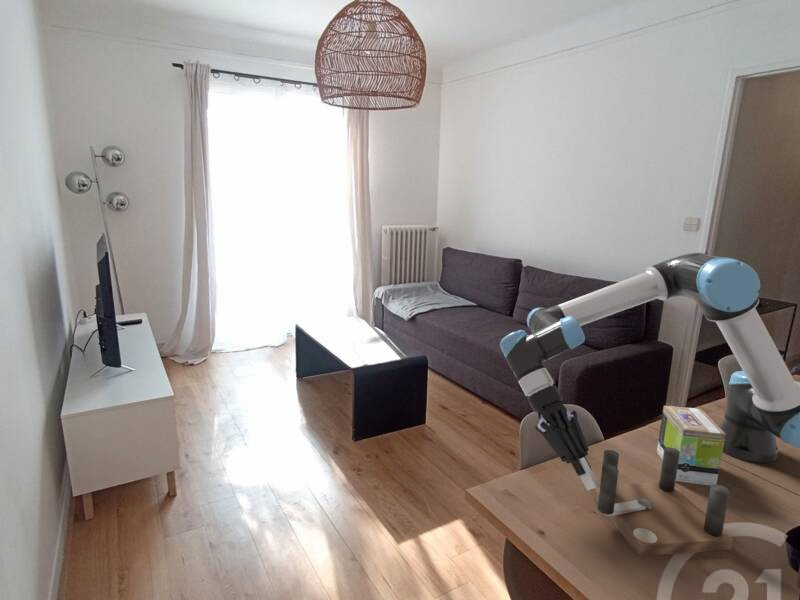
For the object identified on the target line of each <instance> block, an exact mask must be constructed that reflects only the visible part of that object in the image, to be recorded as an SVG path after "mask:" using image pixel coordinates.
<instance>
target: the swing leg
mask: <svg viewBox="0 0 800 600" xmlns="http://www.w3.org/2000/svg"><path fill="white" fill-rule="evenodd" d="M619 471H620V470H619V468H616V467H615V466H612V465H603V464H602V468H601V476H600V483H599V485H600V493H599V502H598V503H597V510H598V511H599V512H600V513H602V514H604V516H605V517H607V518H609V516H614V515H619V514H624V513H629V512H634V511H639V510H649V509H650V508H651V504H650V502H649V501H648V500H646V499H644V498H639V499H637V500H633V501H628V502H622V503H617V504H615V496H616V488H617V485H618V479H619Z"/></svg>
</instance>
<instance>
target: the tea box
mask: <svg viewBox="0 0 800 600" xmlns="http://www.w3.org/2000/svg"><path fill="white" fill-rule="evenodd" d="M661 414H662V415H661V422H660V429H659V435H658V442H657V449H656V453H657V454H658V456H659V457H660V458H661V460H662V461H663V454H664V448H666V447H671V448H675V449H677V450H678V451H679V452H680V454H679V461H678V468H677V474H676V481H675V482H680V483H685V484H687V483H688V484H693V485H703V486H710V487H711V485H713V484H717V483H718V478H719V473H720V467H721V461H722V457H723V453H724V452H723V446H724V441H725V433H724V432H723V431H722V430H721V429H720V427H719V425H718V424H717V423H715V422H714V421H713V419H712V418H711V417H710V416H708V414H707V413H706V412H705V411H704V410H703V409H702V408H694V407H684V406H683V407H682V406H674V405H673V406H672V405H663V409H662V413H661ZM717 485H718V484H717Z"/></svg>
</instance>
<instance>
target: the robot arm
mask: <svg viewBox="0 0 800 600" xmlns="http://www.w3.org/2000/svg"><path fill="white" fill-rule="evenodd" d="M759 290H761V280H760V278H759V276H758V273H757V271H755V269H754V268H752V266H750V265H749V264H747V263H746V262H743V261H740V260H739V259H735V258H732V257H723V256H718V255H712V254H706V253H701V252H695V253H694V252H693V253H685V254H681V255H679V256H675V257H672V258H669V259H666V260H664V261H662V262H659V263H657V264H654V265H651V266H648V267H647V268H646V269H645V272H642V273H640V274H638V275H635V276H632V277H630V278H627V279H626V278H625V279H624V280H621V281H618V282H616V283H613V284H610V285H607V286H605V287H603V288H600V289H597V290H594V291H592V292H589V293H587V294H584V295H581V296H578V297H575V298H574V299H571V300H568V301H565V302H563V303H560V304H557V305H554V306H551V307H548V308H545V307H536V308H533V309H532V310H531V311H530V312H529V313H528V314H527V317H526V324H527V327H528V328H529V331H530V332H531V333H530V334H528V333H527V332H526V330H523V329H519V330H516V331H513V332H510V333H508V334H507V335H505V336H504V337H503V338H502V339H501V340H500V341H499V342H500V343H499V347H500V349H501V351H502V354H503V356H504V358H505V360H506V362H507V363H508V365H509V367H510V369H511V371H512V373H513V374H514V377H515V378H516V380H517V382H518V384H519V385H520V388H521V389H522V392H523V393H524V396H526V397H528V398H527V401H528V403H529V405H530V407H531V409H532V411H533V412H534V413H537V416H538V419H539V422H538V424H536V425H535V429H536V431H537V432H539V433H540V434H541V435H542V436H543V437H544V439H545V440H546V441H547V443H548V444H549V445H550V447H551V449H553V450H554V452H555V453H556V455H557V457H559V459H560V460H561V461H562V462H564V463H566V464H571V465H572V467H573V469H574V471H575V473H576V475H577V476H578V477H580V480H581V481H582V483H583V485H584V487H585V488H586V491H590V490H592V489H594V488H596V487H598V486H600V483H599V481H598V480H597V479H598V478H596V476H595V474H594V472H593V469H592V467H591V465H590V462H589V461H588V460H587V458H586V456H588V455H589V446H588V444H587V441H586V439H585V436H584V434H583V431H582V429H581V426H580V423H579V421H578V413H577V411H576V410H572V411H570V410H567V407H566V406H565V405H564V404H563V402H562V400H563V396H562V394H561V393H560V390H559V389H558V387H557V386H556V385H554V379H553V378H552V376H551V375H550V373H549V371H548V370H547V367H546V366H545V364H544V362H547V361H550V360H551V359H553V358H555V357H557V356H560V355H562V354H565V353H566V352H568V351H571V350H573V349H575V348H576V347H578V346H580V345H581V344H584V342H585V340H586V337H585V333H584V330H583V329H582V326H584V325H587V324H589V323H593V322H596V321H598V320H601V319H604V318H606V317H609V316H612V315H614V314H617V313H620V312H622V311H625V310H629V309H632V308H634V307H637V306H640V305H642V304H645V303H648V302H651V301H653V300H654V301H655V300H656V299H658V300H661V301H665V300H668V299H671V298H675V297H686V298H688V299H691V300H693V301H695V302H696V303H697V306H698V308H699V309H700V310H701V312H702V314H703V316H704V318H705V319H706V320H707V321H710V322H714V323H716V325H717V326H718V328H719V330H720V331H721V334H722V336H723V337H724V339H725V342H727V345H728V347H730V348H729V349H730V350H731V352H732V354H733V355H734V357H735V359H736V360H737V363H738V364H739V365H740V368H741V370H738V371H734V372H733V373H731V376H730V379H729V382H728V389H727V390H728V391H727V396H726V403H725V409H724V414H723V415H724V416H723V418H722V421H721V422H720V424H719V425H718V426H719V427H720V429H721V430H722V431H723V432H724V433H725V441H724V446H723V452H722V453H725V454H727V455H729V456H731V457H734V458H737V459H740V460H744V461H747V462H752V463H753V462H754V463H773V462H774V461H776V460H777V457H778V454H779V448H778V446H777V439H776V437H777V438H778V439H781V441H782V442H784V443H785V444H788V445H790V446H792V447H794V448H796V449H800V382H799V381H796V380H795V379H794V377H793V376H792V374H791V372H790V369H789V368H788V366H787V364H786V362H785V360H784V358H783V357H782V355H781V353H780V351H779V349H778V348H777V346H776V344H775V342H774V340H773V338H772V337H771V335H770V333H769V330H767V327H766V325H765V323H764V321H763V320H762V318H761V317H760V315H759V313H758V311H757V309H756V307H758V305H759V303H760V298H759V295H760V293H759Z"/></svg>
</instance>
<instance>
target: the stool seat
mask: <svg viewBox="0 0 800 600" xmlns="http://www.w3.org/2000/svg"><path fill="white" fill-rule="evenodd" d="M679 454H680V452H679V451H678V450H677V449H675V448H671V447H666V448H664V454H663V460H662V461H661V462H662V463H661V467H660V468H661V470H660V476H659V482H658V481H657V482H643V483H642V482H640V483H622V484H618V483H617V488H616V496H615V504H617V503H622V502H628V501H633V500H637V499H639V498H644V499H646V500H648V501H649V502H650V504H651V508H650V509H649V510H639V511H634V512H629V513H624V514H619V515H614V516H609V517H608V519H609V520H610V521H611V522H612V524H614V526H615V528H617V530H618V531H619V532H620V534H621V535H622V536H623V538H624V539H625V540H626V541H627V542H628V544H629V545H630V546H631V547H632V549H633V550H634V551H635V552H636V554H637V555H638V556H639V557H643V556H657V555H658V556H659V555H672V554H674V555H675V554H687V553H689V554H690V553H703V552H714V551H715V552H716V551H717V552H718V551H731V550H732V548H733V542H734V539H733V538H732V536H730V535H729V534H728V533H727V532H726V531H725V530H724V526H725V525H724V524H725V520H726V519H725V518H726V514H727V508H728V502H729V496H730V490H729V489H728V488H727V487H725V486H724V485H721V484H713V485H711V486H710V487H709V488H710V489H709V494H708V500H707V506H706V507H707V508H706V513H705V512H704V511H703V510H701V508H699V507H698V506H697V505H696V504H695V503H694V502H693V501H691V500H690V498H688V497H687V495H685V494H683V492H681V491H680V490H679V489H678V488H677V487H676V482H677V481H676V474H677V468H678V461H679ZM619 458H620V455H619V453H618V452H617V451H615V450H614V449H613V450H611V449H606V450H604V451H603V459H602V466H603V465H612V466H615V467H616V468H617V469H619V468H618V467H619V466H618V465H619ZM599 493H600V486H598V487H596V488H594V489H591V492H590V496H591V497H592V499H593V500H594V501H595V502H596V504H598V502H599Z"/></svg>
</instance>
